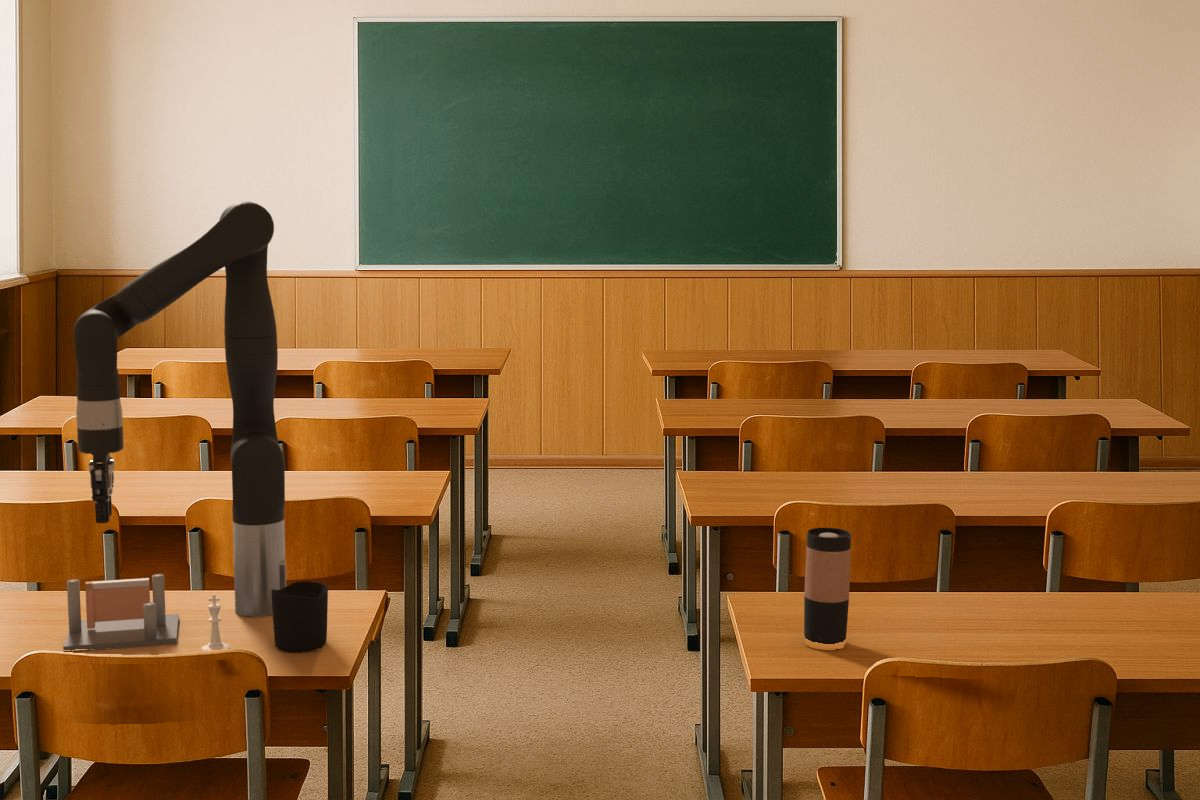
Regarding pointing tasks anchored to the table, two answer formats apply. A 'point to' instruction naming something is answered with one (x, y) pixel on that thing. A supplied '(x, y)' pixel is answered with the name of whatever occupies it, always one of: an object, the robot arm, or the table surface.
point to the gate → (116, 600)
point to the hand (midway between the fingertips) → (104, 518)
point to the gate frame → (122, 624)
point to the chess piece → (215, 628)
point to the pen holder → (300, 616)
